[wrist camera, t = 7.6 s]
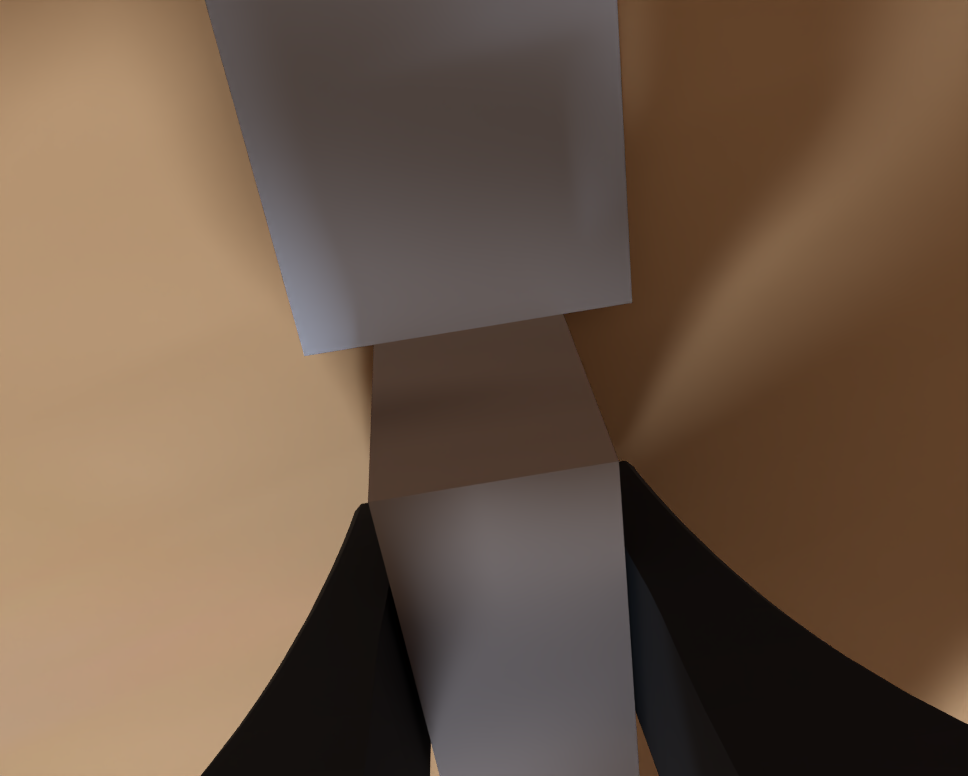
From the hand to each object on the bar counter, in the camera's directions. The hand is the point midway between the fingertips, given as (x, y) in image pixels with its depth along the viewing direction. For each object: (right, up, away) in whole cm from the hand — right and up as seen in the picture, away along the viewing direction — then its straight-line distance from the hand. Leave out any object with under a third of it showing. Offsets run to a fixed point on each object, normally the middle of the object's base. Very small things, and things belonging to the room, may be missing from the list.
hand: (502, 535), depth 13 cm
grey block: (0, +3, 0) cm, 3 cm away
